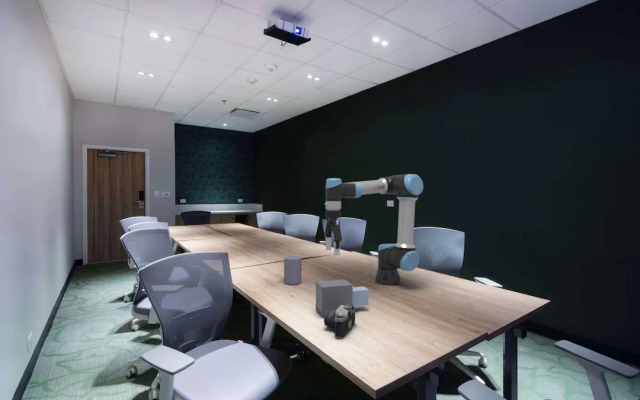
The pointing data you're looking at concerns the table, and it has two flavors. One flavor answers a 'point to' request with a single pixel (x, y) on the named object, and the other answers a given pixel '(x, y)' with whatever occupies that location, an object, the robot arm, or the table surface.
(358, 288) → the tall blue-grey block
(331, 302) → the dispenser
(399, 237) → the robot arm
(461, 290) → the table surface
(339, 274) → the table surface
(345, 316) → the camera
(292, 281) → the container
